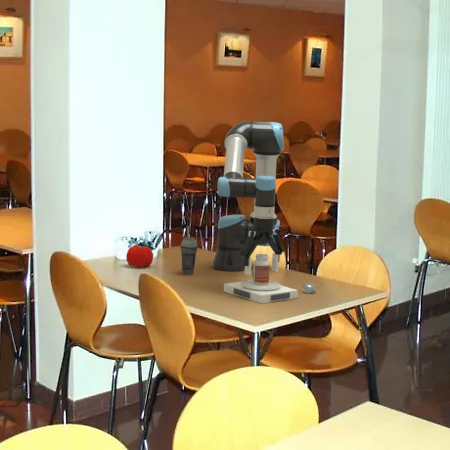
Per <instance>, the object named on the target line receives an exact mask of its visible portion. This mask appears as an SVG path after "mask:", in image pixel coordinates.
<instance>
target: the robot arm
mask: <svg viewBox="0 0 450 450" xmlns="http://www.w3.org/2000/svg"><path fill="white" fill-rule="evenodd" d="M224 148H225V159H224V160H225V161H224V170H223V176H220V177H219V178H218V180H217V191H216V192H217V195H218V196H219V197H226V198H247V199H248V198H250V199H254V201H253V202H254V204H253V206H254V207H253V212H251V213H250V215H249V218H247V217H246V215H245V214H230V215H224V216H220V218H219V219H218V225H217V243H216V252H215V253H214V254H215V255H214V257H213V261H212V264H211V265H212V268H213V269H215V270H219V271H228V272H238V271H239V272H240V271H244V275H246V276H247V275H248V276H251V274H252V257H251V256H252V255H253V253H254V251H255V250H256V248H257V247H261V246H262V247H270V248H271V250H272V252H273V253H272V255H271V256H272V258H271V271H273V272H276V273H277V272H279V263H280V256H281V255H282V254H283V253H284V252H285V249H284V246H283V242H282V238H281V235H280V225H281V224H280V223H281V222H280V219H278V216H277V214H276V213H275V208H276V205H275V203H276V188H277V179H276V177H277V159H278V157H279V156H281V152H282V151H284V150H285V141H284V130H283V125H282V123H280V122H275V121H249V120H247V121H246V120H243V121H241V122H239V123H237V124H235V125H234V126H233V127H231V128H230V129H229V131H228V132H227V133H226V135H225V138H224ZM246 150H252V151H253V152H252V153H253V155H254V156H255V157H256V160H255V163H256V164H255V178H253V177H244V162H245V152H246Z"/></svg>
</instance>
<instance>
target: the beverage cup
mask: <svg viewBox="0 0 450 450" xmlns="http://www.w3.org/2000/svg"><path fill="white" fill-rule="evenodd" d="M186 227H187V228H186V229H187V236H186V237H184V238H183V239H182V241H181V243H180V252H181V268H182V269H181V271H182V274H183V275H185V276H192V275H194V273H195V272H194V271H195V267H196V265H195V264H196V257H197V252H198V243H197V240H196V239H195V238H194V237H191V236H190V233H189V231H190V228H189V226H186Z"/></svg>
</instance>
